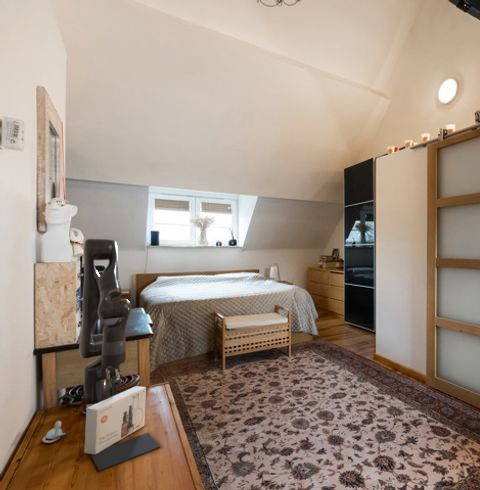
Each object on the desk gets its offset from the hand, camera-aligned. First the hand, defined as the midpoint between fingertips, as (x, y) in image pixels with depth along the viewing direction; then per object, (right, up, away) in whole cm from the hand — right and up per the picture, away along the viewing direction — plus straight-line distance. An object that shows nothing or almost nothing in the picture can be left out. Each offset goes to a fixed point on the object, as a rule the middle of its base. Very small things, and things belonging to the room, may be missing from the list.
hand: (113, 395), depth 136 cm
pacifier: (-19, -14, -5) cm, 24 cm away
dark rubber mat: (+12, -15, -11) cm, 23 cm away
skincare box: (+4, -15, -4) cm, 16 cm away
